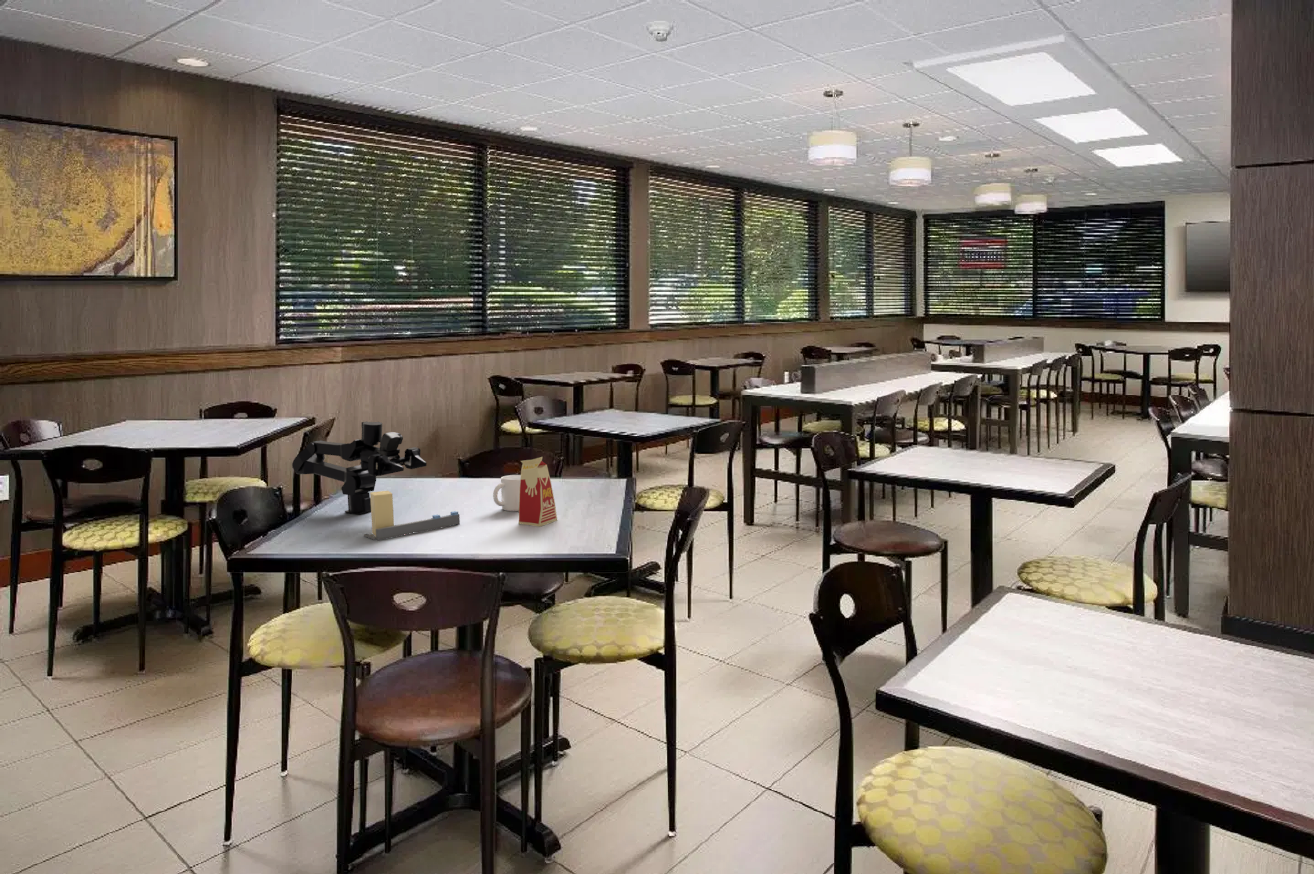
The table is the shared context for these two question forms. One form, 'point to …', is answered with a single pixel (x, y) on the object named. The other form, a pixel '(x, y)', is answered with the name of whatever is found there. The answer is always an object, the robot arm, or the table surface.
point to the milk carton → (536, 494)
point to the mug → (508, 492)
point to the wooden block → (381, 510)
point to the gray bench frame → (416, 526)
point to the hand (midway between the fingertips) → (414, 466)
